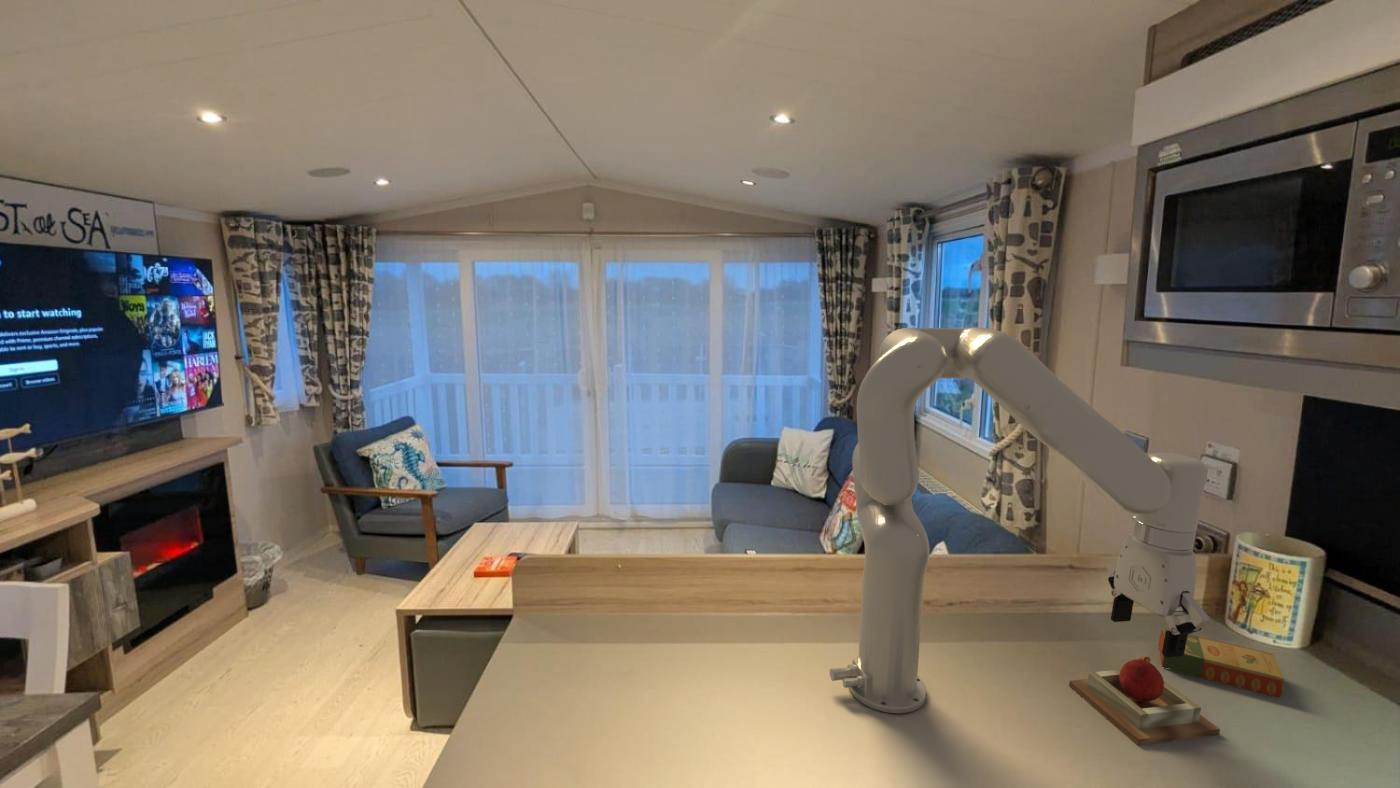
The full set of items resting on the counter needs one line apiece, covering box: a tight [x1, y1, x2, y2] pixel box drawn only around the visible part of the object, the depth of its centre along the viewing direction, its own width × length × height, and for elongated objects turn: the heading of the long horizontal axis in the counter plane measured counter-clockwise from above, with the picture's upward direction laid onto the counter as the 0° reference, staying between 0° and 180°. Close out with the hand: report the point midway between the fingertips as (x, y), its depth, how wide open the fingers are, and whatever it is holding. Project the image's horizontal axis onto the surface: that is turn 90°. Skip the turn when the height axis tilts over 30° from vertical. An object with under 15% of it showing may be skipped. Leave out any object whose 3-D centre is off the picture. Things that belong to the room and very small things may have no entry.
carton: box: [1157, 628, 1284, 699], centre depth 111 cm, size 8×16×4 cm, turn 58°
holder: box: [1068, 668, 1221, 746], centre depth 101 cm, size 14×14×4 cm
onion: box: [1119, 654, 1164, 703], centre depth 101 cm, size 6×6×8 cm
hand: (1145, 637), depth 99 cm, fingers open, 9 cm apart
